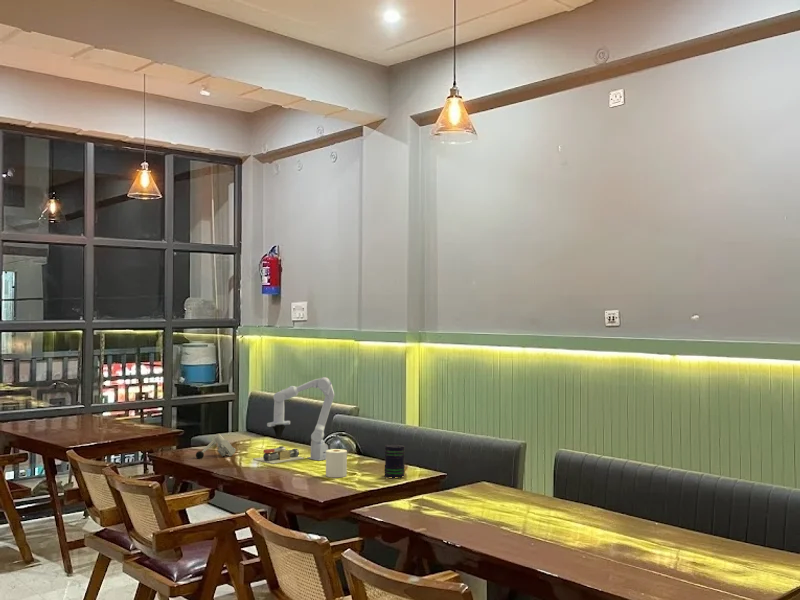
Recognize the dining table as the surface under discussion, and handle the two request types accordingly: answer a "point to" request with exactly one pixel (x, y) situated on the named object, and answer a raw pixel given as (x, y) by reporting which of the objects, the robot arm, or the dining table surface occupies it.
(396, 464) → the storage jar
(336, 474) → the toilet paper
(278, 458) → the valve body
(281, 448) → the lever
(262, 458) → the mounting board
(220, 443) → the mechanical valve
